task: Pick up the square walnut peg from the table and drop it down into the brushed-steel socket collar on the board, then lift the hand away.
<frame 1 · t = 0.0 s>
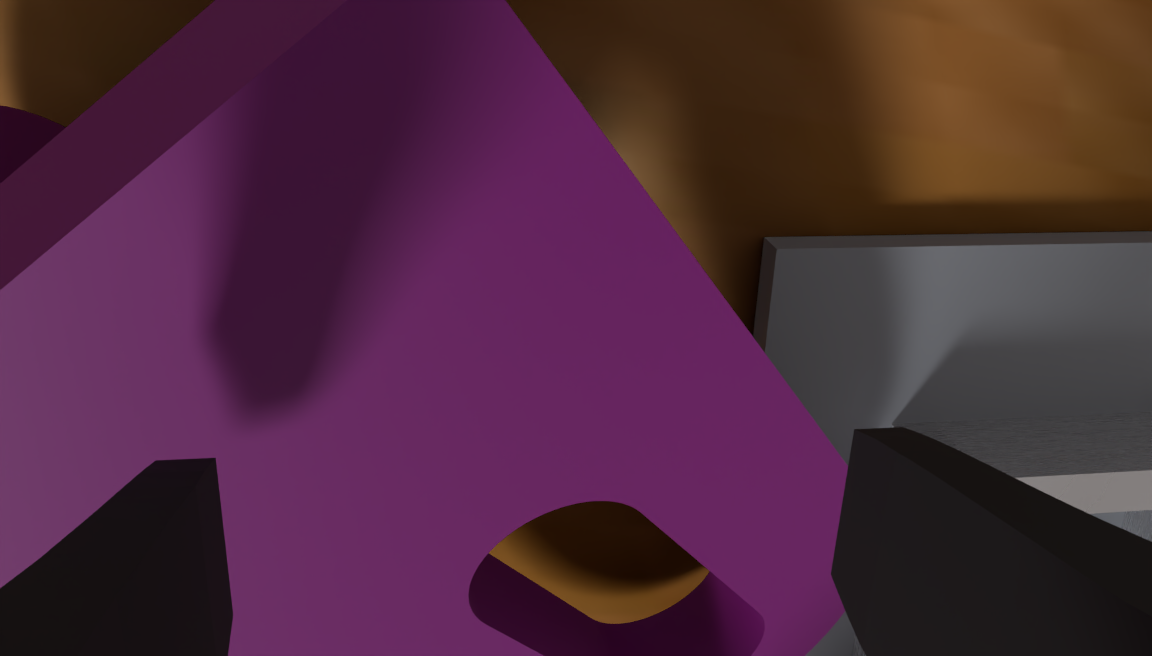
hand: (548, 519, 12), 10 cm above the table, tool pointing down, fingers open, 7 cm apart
socket board: (995, 535, 26), on the table
mounting bracket: (485, 364, 21), on the table, touching socket board
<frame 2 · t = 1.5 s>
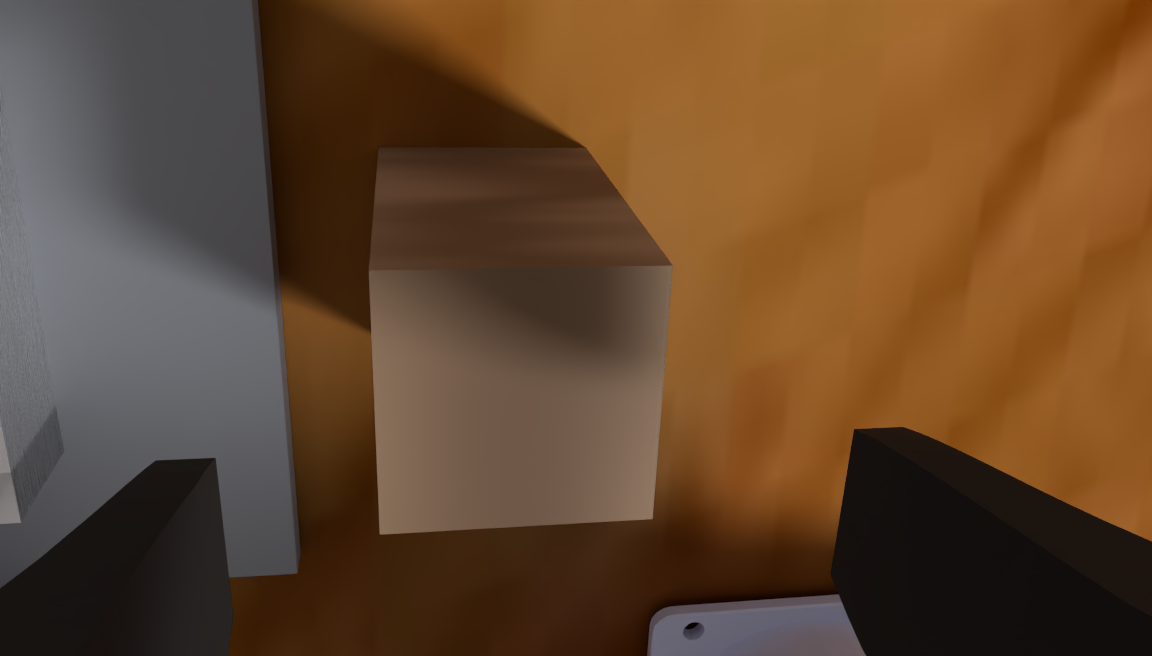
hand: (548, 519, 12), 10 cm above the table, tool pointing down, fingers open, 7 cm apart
walnut peg: (483, 245, 21), on the table
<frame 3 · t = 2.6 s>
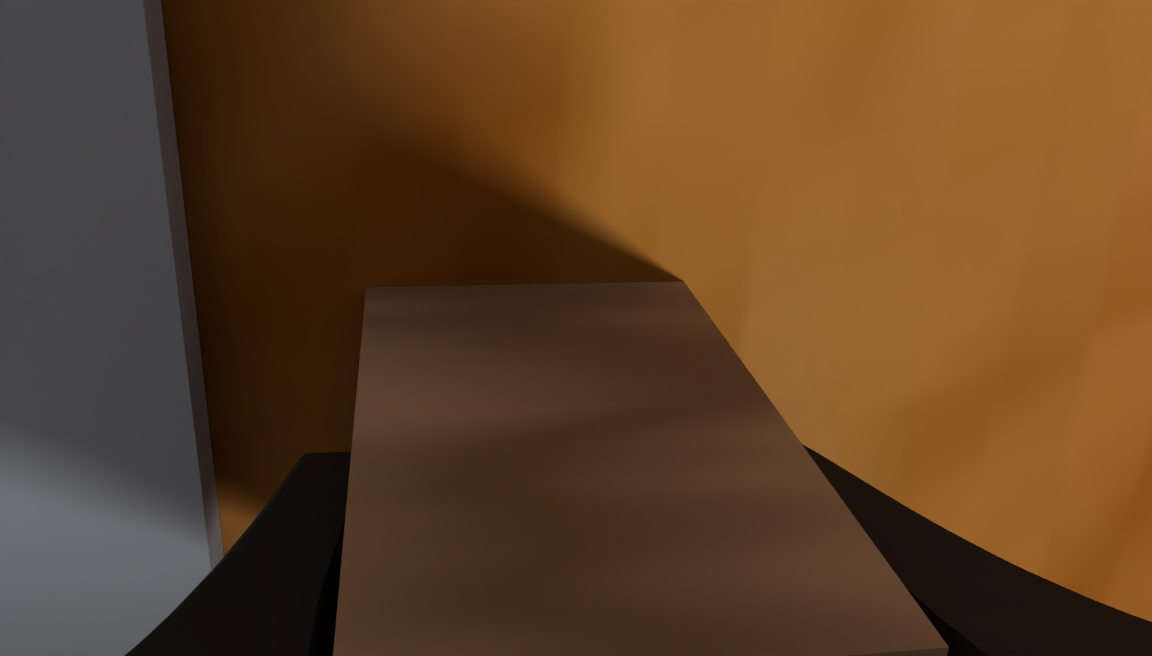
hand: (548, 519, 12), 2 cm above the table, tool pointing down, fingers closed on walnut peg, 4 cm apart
walnut peg: (525, 425, 14), on the table, touching gripper
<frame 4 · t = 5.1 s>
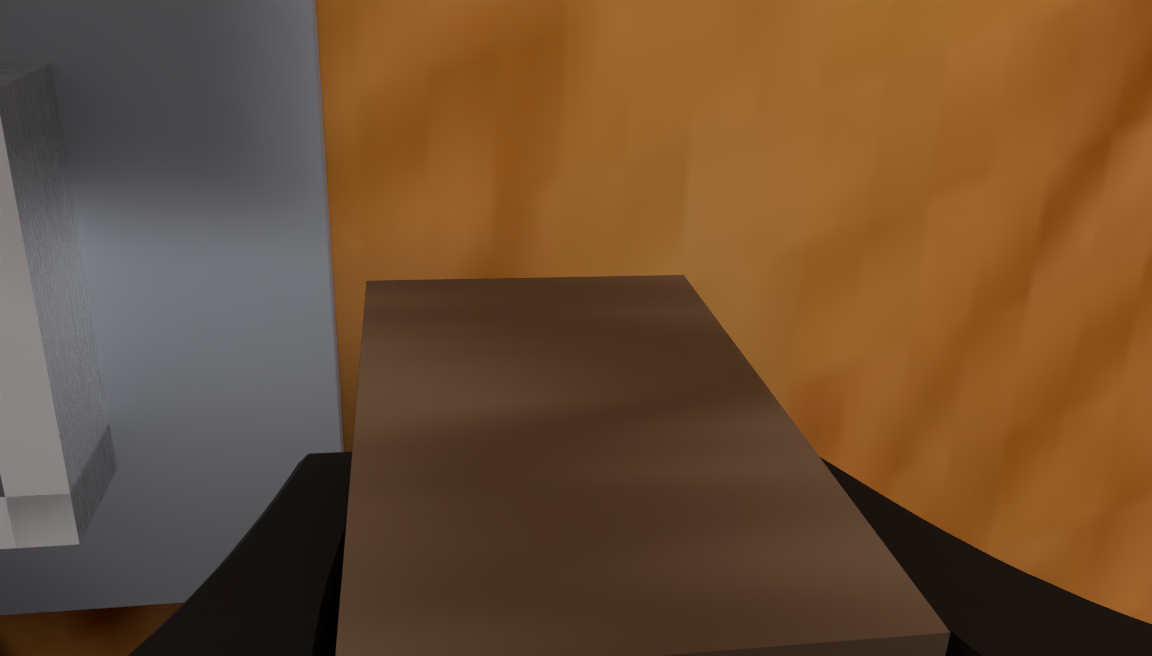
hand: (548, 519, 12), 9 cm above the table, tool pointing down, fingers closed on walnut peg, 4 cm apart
walnut peg: (525, 419, 14), point 7 cm above the table, touching gripper
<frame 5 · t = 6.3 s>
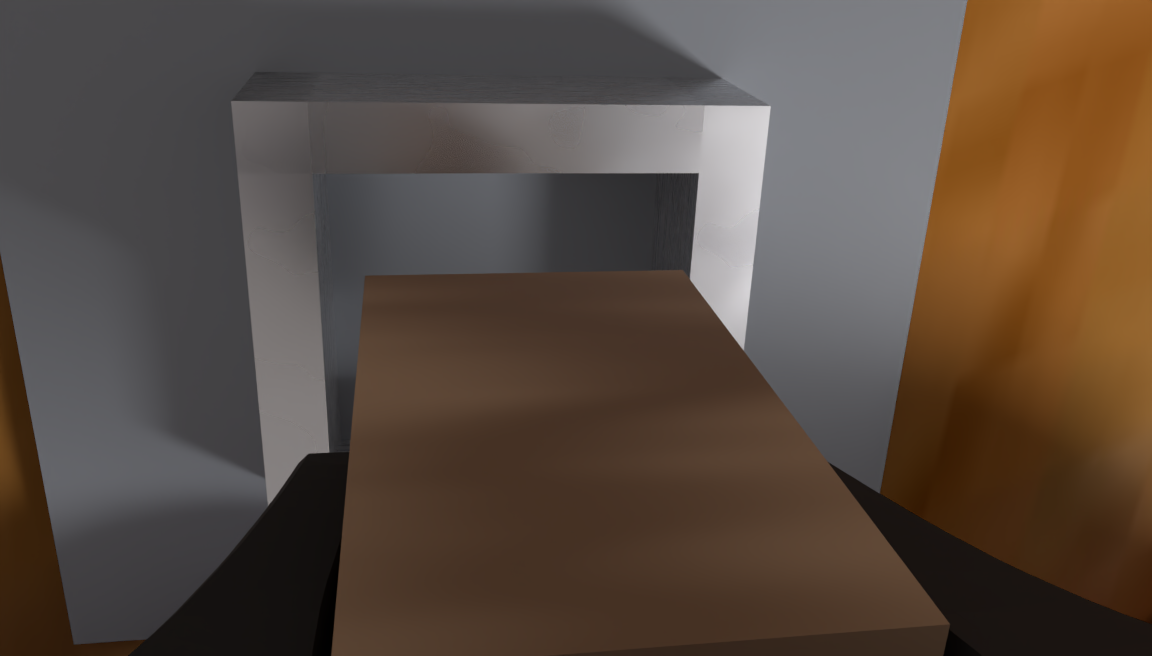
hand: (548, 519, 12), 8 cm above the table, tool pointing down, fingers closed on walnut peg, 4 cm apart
walnut peg: (524, 414, 14), point 6 cm above the table, touching gripper
socket board: (491, 277, 19), on the table
when the fingers open (4 cm above the table, at t = 7.4 s): walnut peg drops 1 cm, resting on socket board.
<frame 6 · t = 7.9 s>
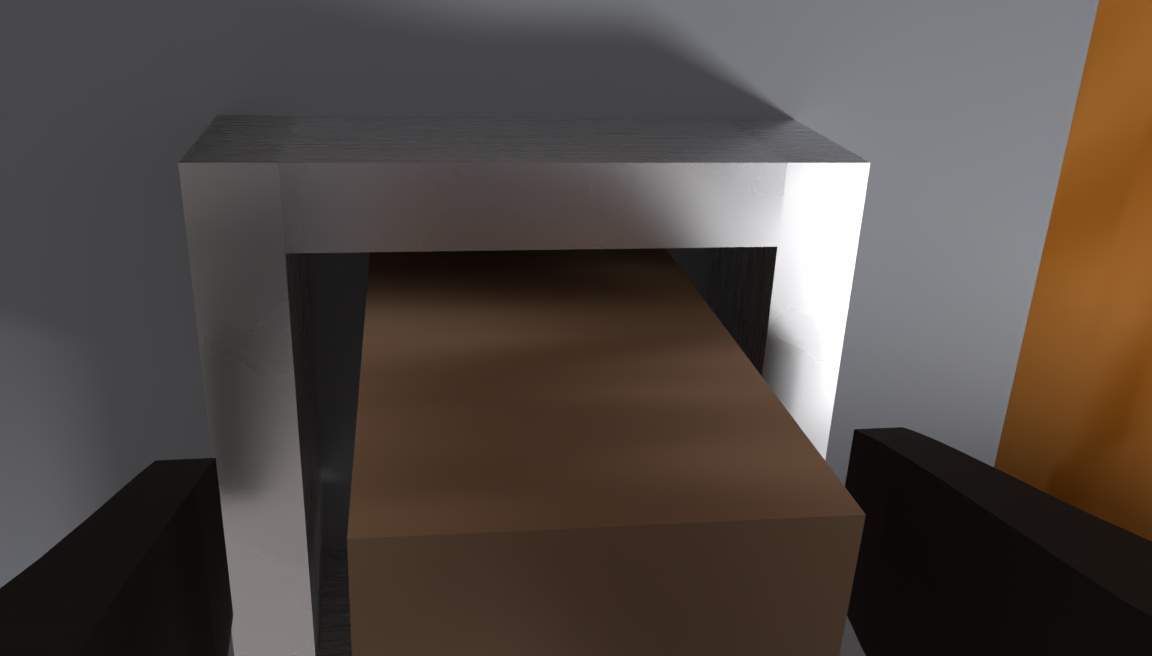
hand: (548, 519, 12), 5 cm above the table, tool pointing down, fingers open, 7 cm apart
walnut peg: (514, 372, 15), point 1 cm above the table, touching socket board
socket board: (509, 355, 16), on the table
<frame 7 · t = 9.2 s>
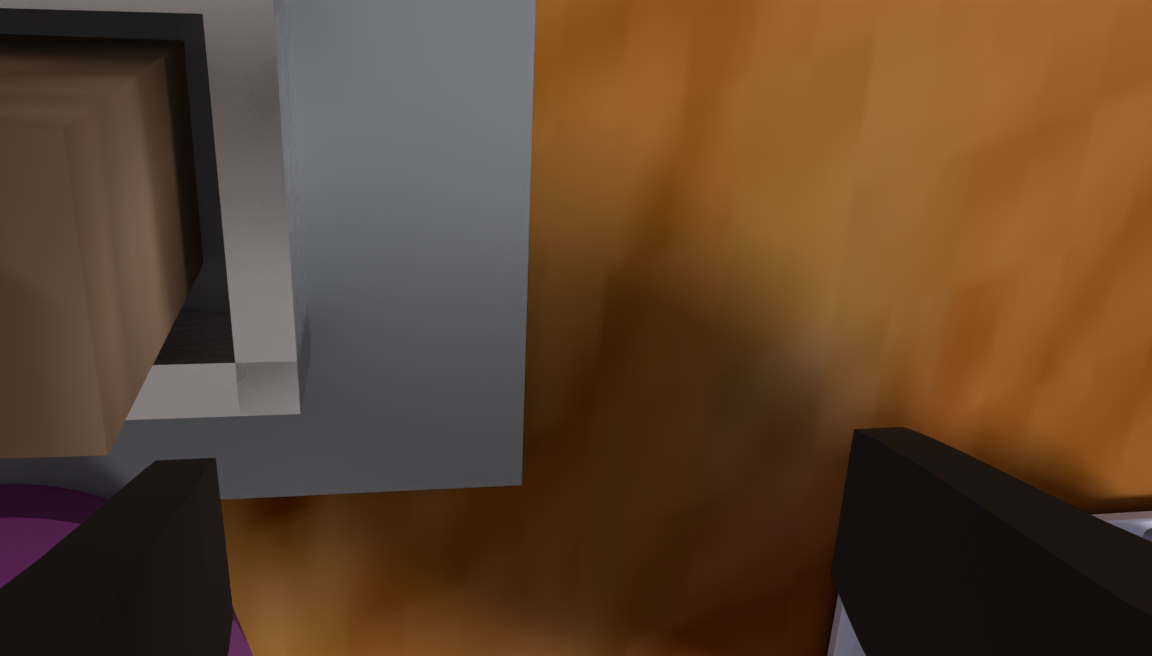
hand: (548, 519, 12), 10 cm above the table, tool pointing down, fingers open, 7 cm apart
walnut peg: (72, 154, 18), point 1 cm above the table, touching socket board
socket board: (86, 149, 18), on the table
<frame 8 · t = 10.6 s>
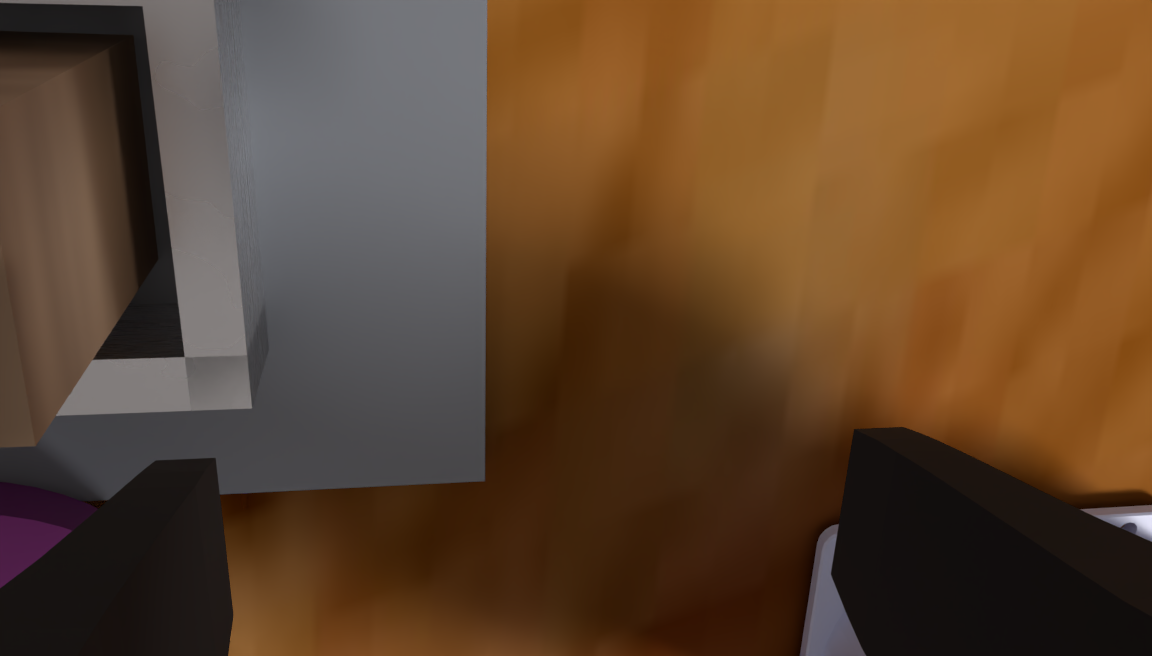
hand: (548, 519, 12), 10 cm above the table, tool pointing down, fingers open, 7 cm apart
walnut peg: (24, 150, 18), point 1 cm above the table, touching socket board
socket board: (40, 145, 18), on the table
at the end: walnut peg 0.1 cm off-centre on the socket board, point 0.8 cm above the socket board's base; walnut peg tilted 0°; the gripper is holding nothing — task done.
